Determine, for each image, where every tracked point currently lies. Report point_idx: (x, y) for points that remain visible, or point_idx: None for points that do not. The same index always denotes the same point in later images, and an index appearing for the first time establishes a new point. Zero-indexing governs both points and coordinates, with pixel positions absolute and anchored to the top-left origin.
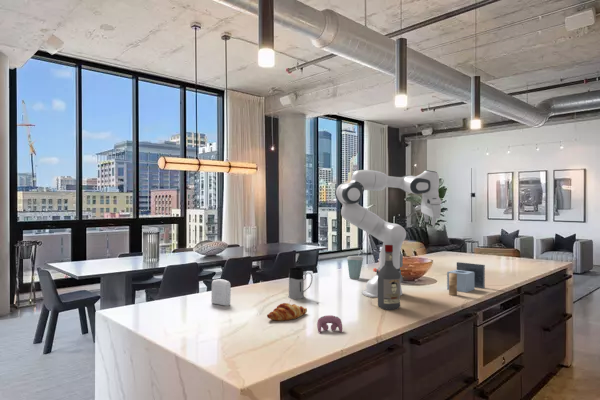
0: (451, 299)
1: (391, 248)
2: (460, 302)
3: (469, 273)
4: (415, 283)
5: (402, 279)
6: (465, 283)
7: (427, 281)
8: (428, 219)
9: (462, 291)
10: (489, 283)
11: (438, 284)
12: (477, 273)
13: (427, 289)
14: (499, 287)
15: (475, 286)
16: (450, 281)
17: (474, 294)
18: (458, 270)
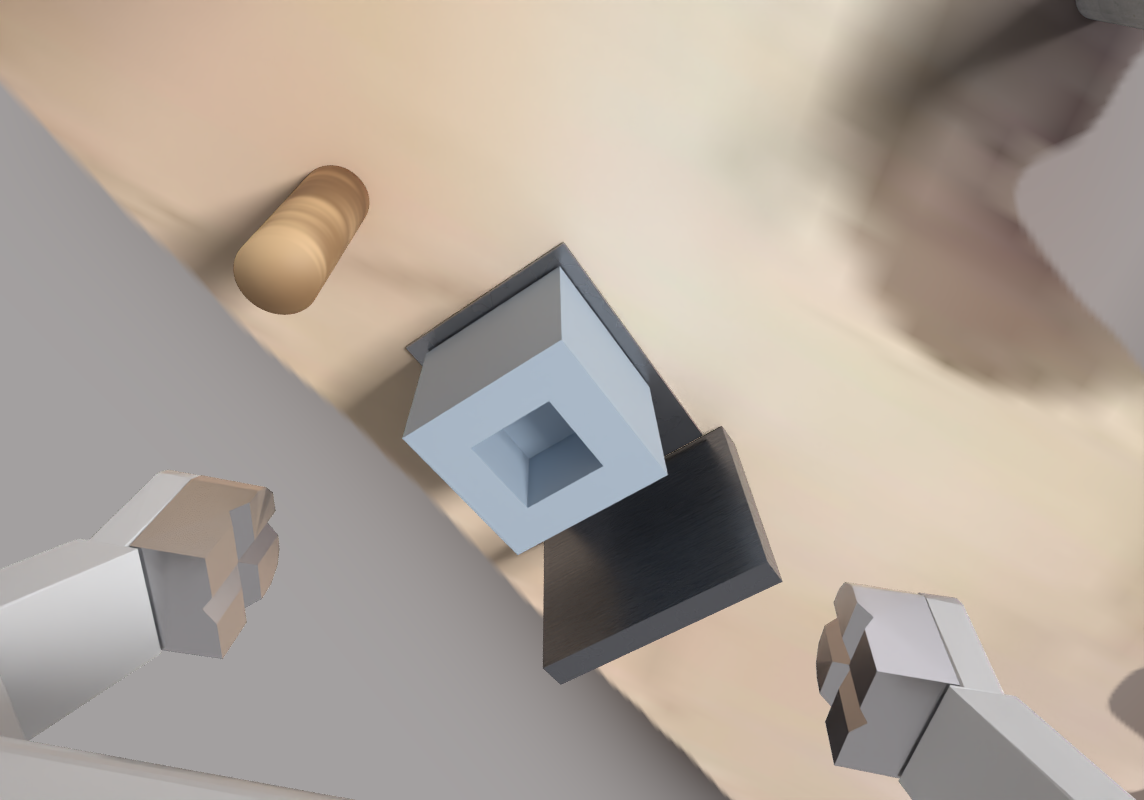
0: (194, 111)
1: None
2: (79, 129)
3: (452, 487)
4: (945, 123)
5: (1095, 12)
6: (420, 388)
7: (975, 286)
8: (832, 737)
9: (449, 339)
10: (722, 643)
11: (816, 315)
12: (583, 586)
13: (641, 103)
14: None
15: None
16: (279, 211)
17: (387, 388)
18: (621, 475)
